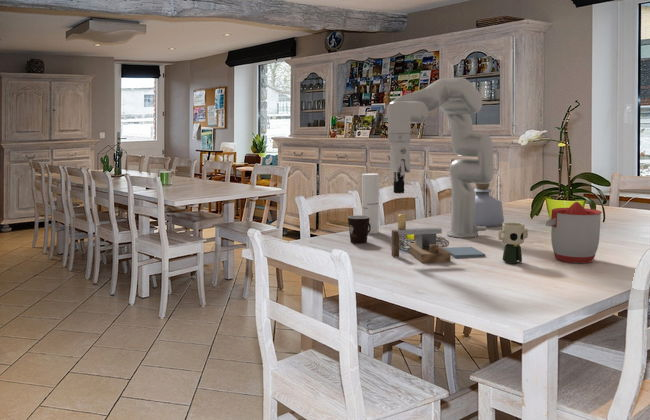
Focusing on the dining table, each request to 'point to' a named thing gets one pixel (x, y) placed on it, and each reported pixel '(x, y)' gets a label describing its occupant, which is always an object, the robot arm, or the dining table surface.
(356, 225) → the coffee mug
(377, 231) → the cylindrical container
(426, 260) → the plane
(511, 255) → the character mug
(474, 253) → the mat
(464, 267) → the dining table surface
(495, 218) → the bottle
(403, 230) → the latch
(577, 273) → the dining table surface
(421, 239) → the dark grey block
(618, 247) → the dining table surface
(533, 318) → the dining table surface
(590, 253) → the citrus juicer
